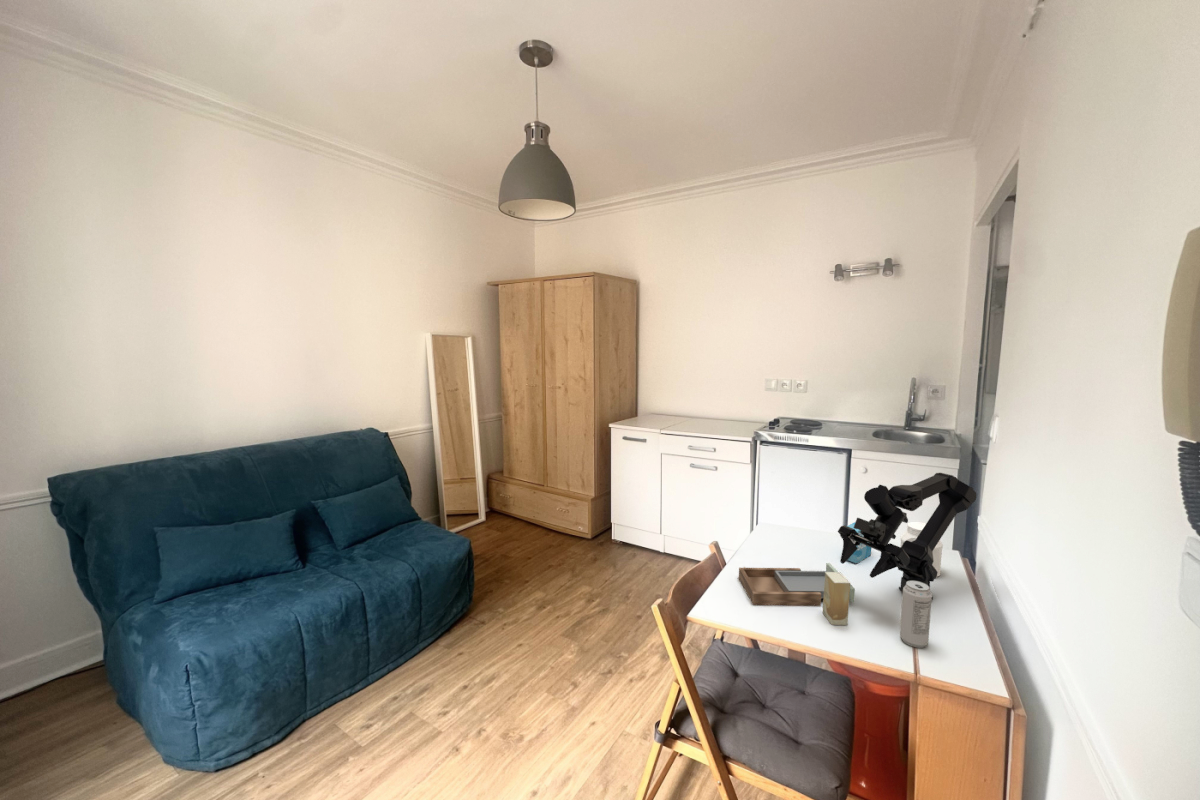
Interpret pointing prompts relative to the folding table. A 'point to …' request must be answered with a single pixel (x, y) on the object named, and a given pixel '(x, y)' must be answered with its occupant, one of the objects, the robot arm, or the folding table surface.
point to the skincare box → (836, 598)
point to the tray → (806, 581)
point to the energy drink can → (915, 614)
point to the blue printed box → (859, 549)
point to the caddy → (773, 589)
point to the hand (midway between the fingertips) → (855, 569)
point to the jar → (911, 535)
